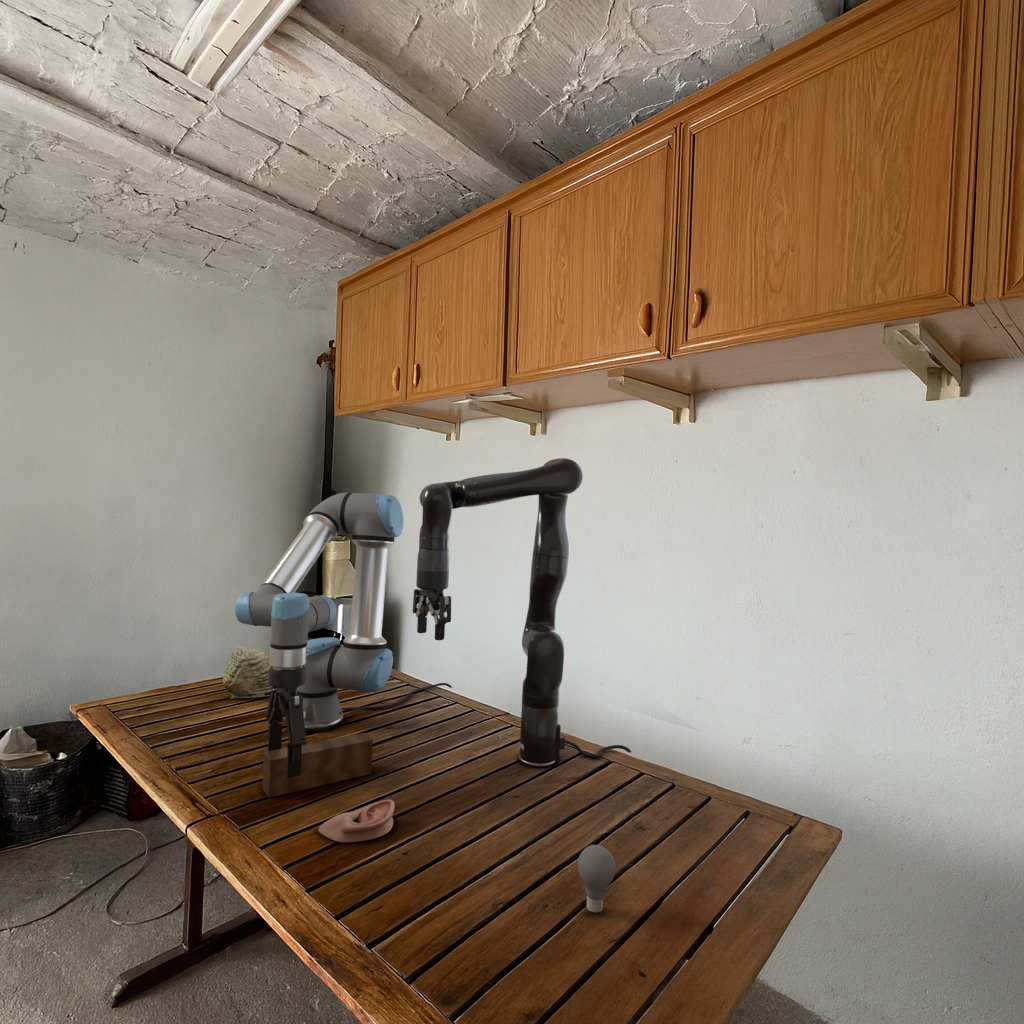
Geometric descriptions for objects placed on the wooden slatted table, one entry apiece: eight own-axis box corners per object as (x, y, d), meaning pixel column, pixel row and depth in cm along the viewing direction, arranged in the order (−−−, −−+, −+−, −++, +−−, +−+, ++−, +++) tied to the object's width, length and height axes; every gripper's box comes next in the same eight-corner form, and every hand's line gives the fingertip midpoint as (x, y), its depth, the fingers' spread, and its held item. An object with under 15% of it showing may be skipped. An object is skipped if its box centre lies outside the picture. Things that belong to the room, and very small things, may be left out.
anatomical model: (310, 816, 117) (339, 789, 129) (309, 837, 117) (338, 808, 129) (377, 827, 115) (401, 798, 126) (376, 848, 115) (400, 818, 126)
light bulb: (572, 898, 103) (575, 837, 103) (608, 897, 103) (611, 837, 103) (579, 922, 97) (582, 858, 97) (617, 922, 97) (620, 858, 97)
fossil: (218, 695, 195) (220, 647, 195) (278, 685, 208) (279, 640, 207) (228, 703, 189) (230, 653, 188) (289, 692, 201) (290, 645, 201)
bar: (268, 797, 132) (270, 760, 132) (262, 788, 136) (263, 752, 136) (371, 773, 146) (373, 739, 146) (362, 765, 150) (364, 732, 150)
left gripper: (325, 677, 128) (320, 782, 128) (287, 652, 148) (283, 742, 148) (288, 682, 124) (283, 790, 124) (254, 655, 144) (250, 748, 144)
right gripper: (462, 571, 146) (459, 641, 146) (432, 564, 157) (429, 629, 158) (434, 572, 141) (431, 644, 142) (404, 565, 153) (402, 632, 153)
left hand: (283, 764), depth 136 cm, fingers open, 13 cm apart
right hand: (430, 636), depth 150 cm, fingers open, 8 cm apart
